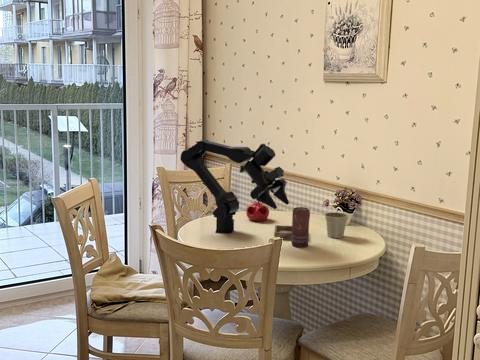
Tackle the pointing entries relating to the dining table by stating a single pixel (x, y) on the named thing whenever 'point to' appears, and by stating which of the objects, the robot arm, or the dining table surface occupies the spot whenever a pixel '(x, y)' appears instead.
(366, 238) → the dining table surface
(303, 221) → the can
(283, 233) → the tray
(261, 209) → the pomegranate
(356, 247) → the dining table surface
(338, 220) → the flower pot
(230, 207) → the robot arm
